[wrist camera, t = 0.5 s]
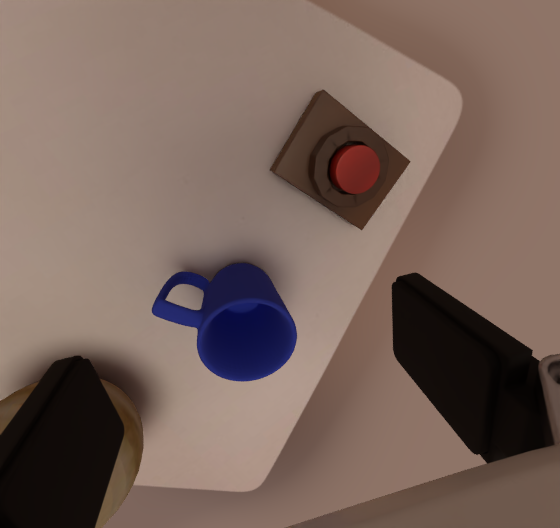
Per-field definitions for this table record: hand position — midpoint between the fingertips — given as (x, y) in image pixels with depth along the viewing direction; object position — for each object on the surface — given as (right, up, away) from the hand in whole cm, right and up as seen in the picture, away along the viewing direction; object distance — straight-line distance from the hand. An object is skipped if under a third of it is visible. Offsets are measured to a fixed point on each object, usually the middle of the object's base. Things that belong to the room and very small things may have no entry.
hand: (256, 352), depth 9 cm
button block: (+6, +13, +21) cm, 26 cm away
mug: (-5, +1, +24) cm, 25 cm away
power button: (+7, +11, +18) cm, 23 cm away
